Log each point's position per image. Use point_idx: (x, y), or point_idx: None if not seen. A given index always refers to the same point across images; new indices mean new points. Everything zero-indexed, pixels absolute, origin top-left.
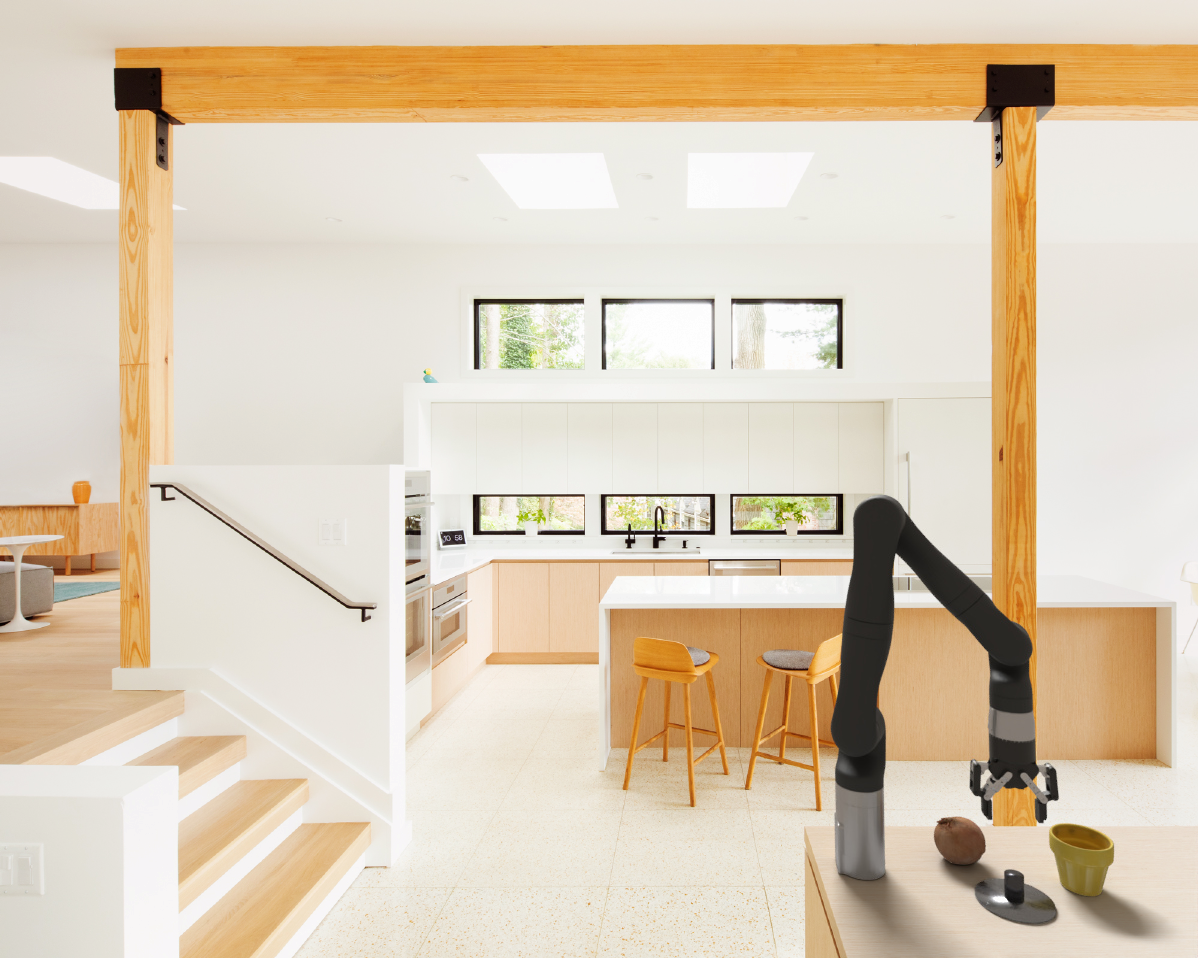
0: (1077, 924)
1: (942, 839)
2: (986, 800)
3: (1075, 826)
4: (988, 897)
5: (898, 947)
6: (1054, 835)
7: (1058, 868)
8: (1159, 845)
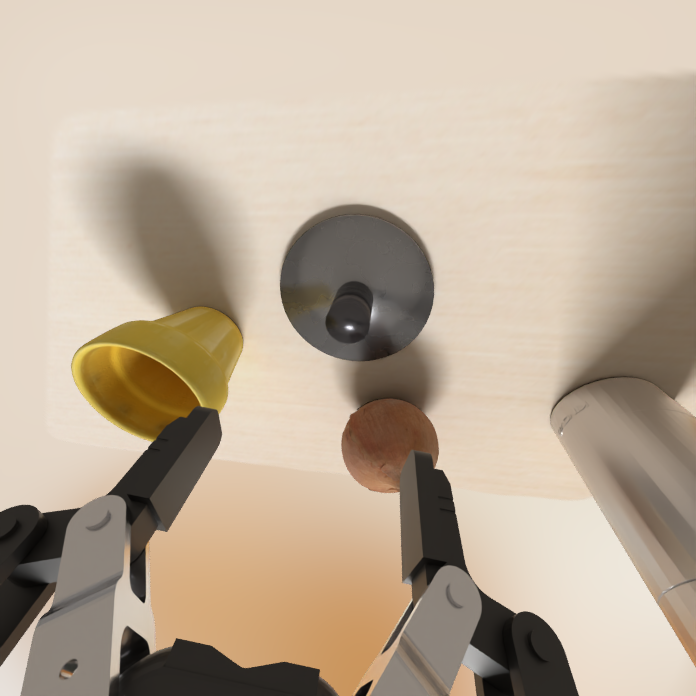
0: (260, 211)
1: (436, 445)
2: (446, 561)
3: (149, 434)
4: (408, 303)
5: None
6: None
7: (234, 358)
8: (81, 414)
